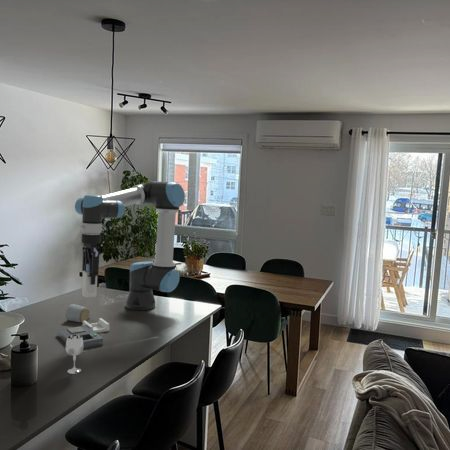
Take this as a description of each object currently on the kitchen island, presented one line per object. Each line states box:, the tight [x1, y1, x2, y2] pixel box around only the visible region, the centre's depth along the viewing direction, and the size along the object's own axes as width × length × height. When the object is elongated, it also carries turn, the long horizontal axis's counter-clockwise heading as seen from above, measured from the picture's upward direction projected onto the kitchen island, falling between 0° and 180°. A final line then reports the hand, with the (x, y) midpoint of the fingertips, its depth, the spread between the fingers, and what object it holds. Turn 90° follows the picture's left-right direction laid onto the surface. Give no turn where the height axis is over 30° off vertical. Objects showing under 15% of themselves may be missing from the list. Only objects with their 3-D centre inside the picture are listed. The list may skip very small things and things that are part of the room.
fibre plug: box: [81, 264, 98, 298], centre depth 183 cm, size 4×4×13 cm
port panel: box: [57, 325, 104, 349], centre depth 181 cm, size 12×18×3 cm, turn 37°
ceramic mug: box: [65, 303, 91, 324], centre depth 206 cm, size 11×8×8 cm
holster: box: [82, 317, 110, 334], centre depth 194 cm, size 8×9×4 cm
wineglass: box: [65, 335, 84, 375], centre depth 153 cm, size 6×6×12 cm
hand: (89, 290), depth 183 cm, fingers closed on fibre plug, 4 cm apart
